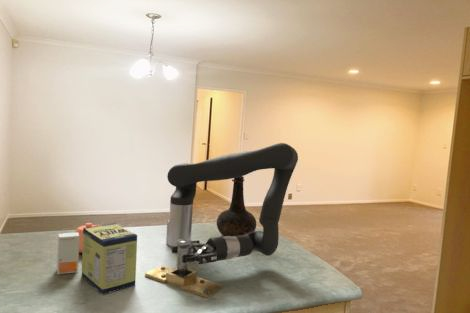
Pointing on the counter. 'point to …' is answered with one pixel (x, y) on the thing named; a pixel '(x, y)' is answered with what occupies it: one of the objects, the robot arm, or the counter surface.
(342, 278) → the counter surface
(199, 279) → the hinge leaves
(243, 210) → the glass bottle
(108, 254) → the protein box
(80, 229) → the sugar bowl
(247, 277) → the counter surface
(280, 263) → the counter surface
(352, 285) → the counter surface
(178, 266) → the hinge pin
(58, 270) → the skincare box
